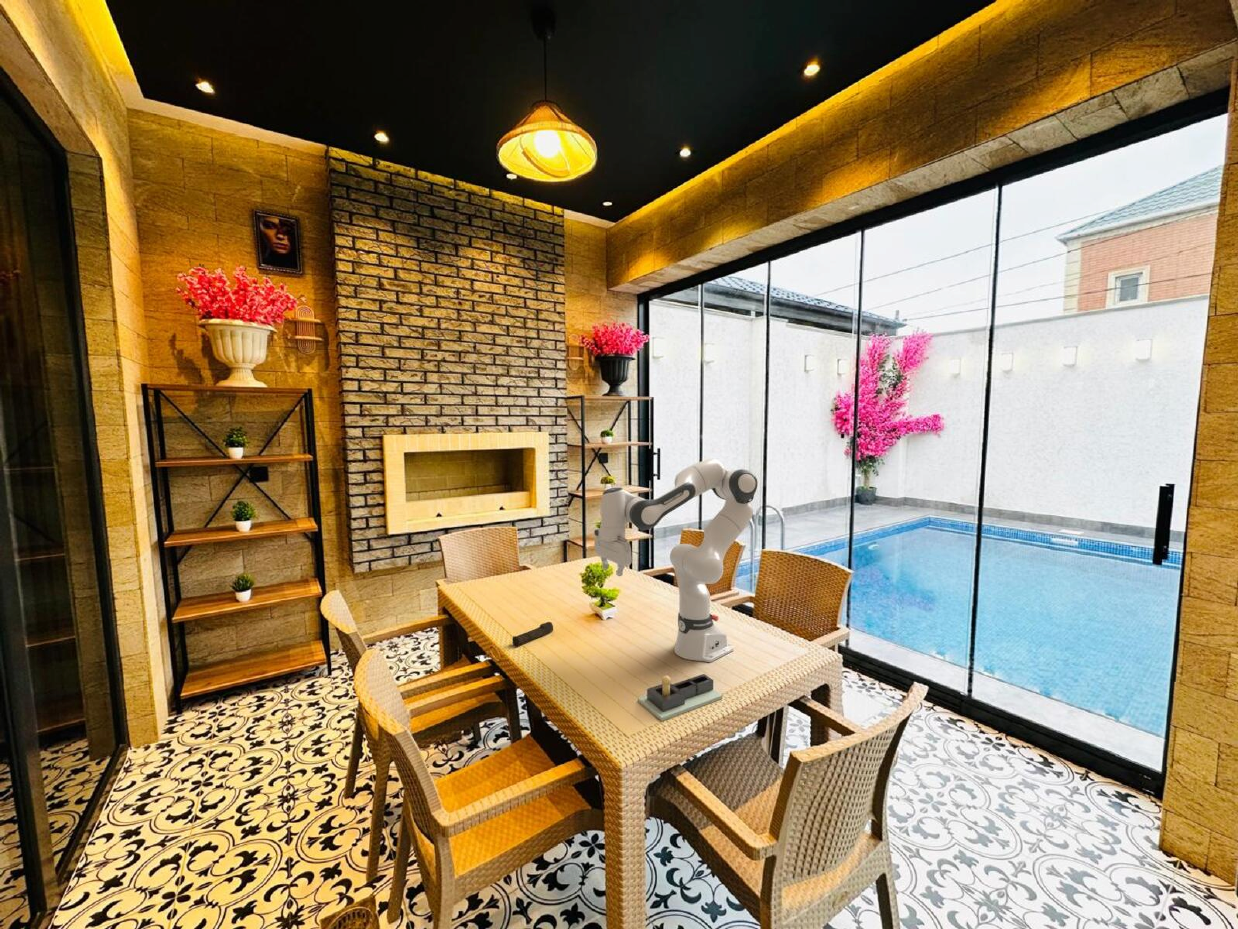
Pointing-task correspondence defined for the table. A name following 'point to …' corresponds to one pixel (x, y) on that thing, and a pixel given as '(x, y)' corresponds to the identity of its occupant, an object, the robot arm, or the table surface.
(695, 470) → the robot arm
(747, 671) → the table surface
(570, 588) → the table surface
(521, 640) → the hand tool
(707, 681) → the grey hollow frame
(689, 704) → the keeper board
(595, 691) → the table surface
